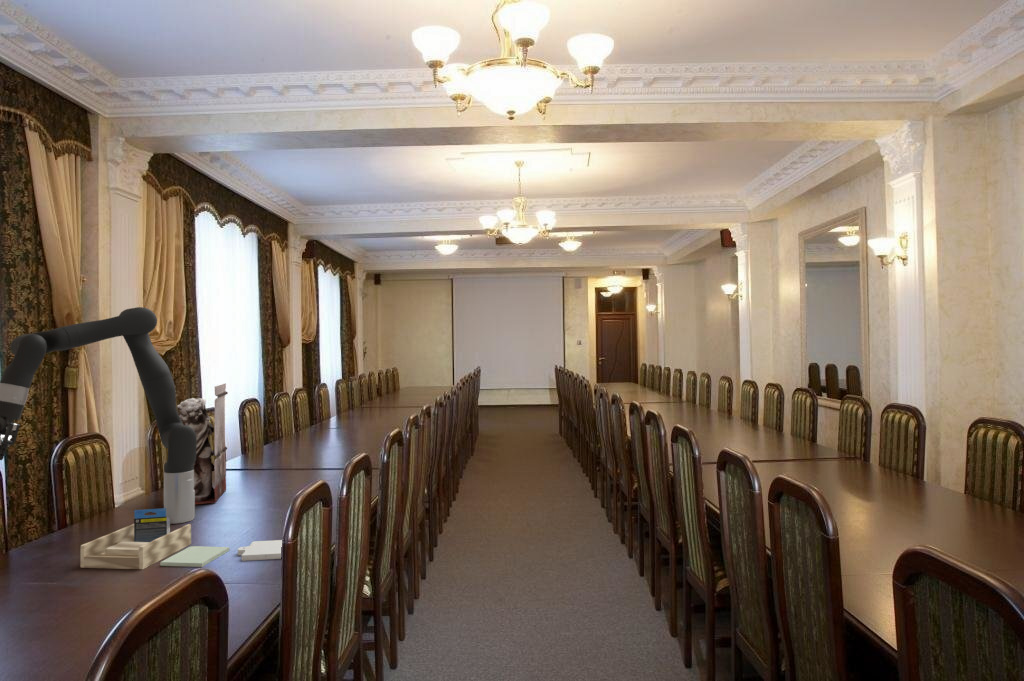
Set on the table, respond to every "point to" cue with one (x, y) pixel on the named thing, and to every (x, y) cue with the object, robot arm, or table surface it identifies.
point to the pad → (195, 556)
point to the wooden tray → (147, 552)
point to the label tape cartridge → (150, 524)
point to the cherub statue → (207, 445)
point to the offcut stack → (124, 549)
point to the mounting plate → (261, 550)
